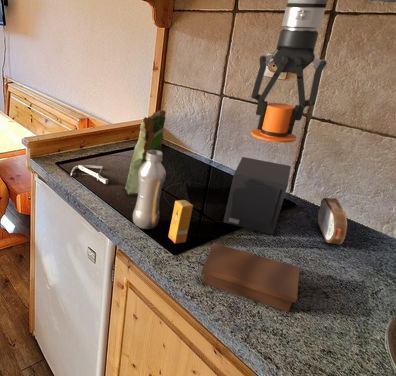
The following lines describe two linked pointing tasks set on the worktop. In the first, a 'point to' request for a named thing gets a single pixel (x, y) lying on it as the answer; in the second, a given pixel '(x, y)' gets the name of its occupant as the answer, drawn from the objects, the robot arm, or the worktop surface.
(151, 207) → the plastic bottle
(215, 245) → the stand
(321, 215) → the tin
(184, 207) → the supplement box
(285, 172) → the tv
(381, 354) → the worktop surface
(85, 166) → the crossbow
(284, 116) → the hat
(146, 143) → the pouch
